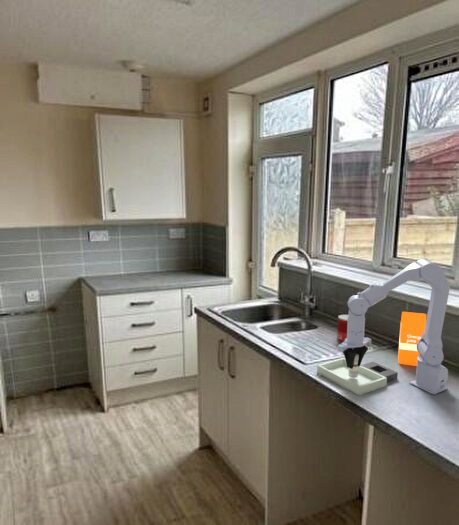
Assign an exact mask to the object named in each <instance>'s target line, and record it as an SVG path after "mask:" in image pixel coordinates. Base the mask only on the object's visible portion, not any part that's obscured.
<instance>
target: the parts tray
mask: <svg viewBox="0 0 459 525" xmlns="http://www.w3.org/2000/svg"><path fill="white" fill-rule="evenodd" d="M361 365H362V364H361ZM361 365H360V366H359V367H358V377H356V378H352V377H350V376H349V368H348V367H347V364H346V359H345V357H341V358H337V359H335V360H331V361H327V362H324V363H320V364H317V365H316V369H317V370H316V373H317V374H319V375H320V376H322V377H324V378H325V379H328V380H329V381H332V382H333V383H335V384H337V385H339V386H340V387H342V388H344V389H346V390H348V391H349V392H351V393H353V394H355V395H357V396H358V397H359V396H362V395H364V394H367V393H368V394H369V393H371V392H373V391H376V390H378V389H382V388H384V387H387V383H388V382H387V378H386V377H384V376H382V375H380V374H378V373H376V372H374V371H371V370H369V369H367V368H365V367H363V366H361Z"/></svg>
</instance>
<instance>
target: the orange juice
mask: <svg viewBox="0 0 459 525" xmlns="http://www.w3.org/2000/svg"><path fill="white" fill-rule="evenodd" d="M426 320H427V313H421V312H411V311H409V312H408V311H402V312H401V319H400V325H399V326H400V327H399V340H398V351H397V361H398V364H400V365H406V366H407V365H408V366H415V367H417V358H418V356H419V352H418V351H417V343H418V342H419V341H420V339H421V335H422V334H423V333H424V331H425V325H426Z"/></svg>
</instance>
